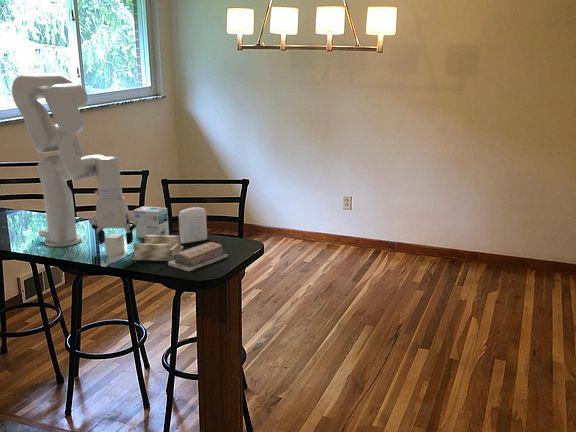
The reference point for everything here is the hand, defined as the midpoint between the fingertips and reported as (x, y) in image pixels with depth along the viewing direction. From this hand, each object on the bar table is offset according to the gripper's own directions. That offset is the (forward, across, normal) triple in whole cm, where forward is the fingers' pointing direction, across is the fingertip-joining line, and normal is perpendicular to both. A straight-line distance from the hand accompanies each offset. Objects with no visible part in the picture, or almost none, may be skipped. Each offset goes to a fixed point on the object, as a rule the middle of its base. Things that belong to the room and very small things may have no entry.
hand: (116, 243), depth 203 cm
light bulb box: (+4, +5, +20) cm, 21 cm away
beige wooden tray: (+4, +14, 0) cm, 15 cm away
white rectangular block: (+4, -1, 0) cm, 4 cm away
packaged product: (+5, +30, -5) cm, 31 cm away
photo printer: (+4, +22, +16) cm, 28 cm away
